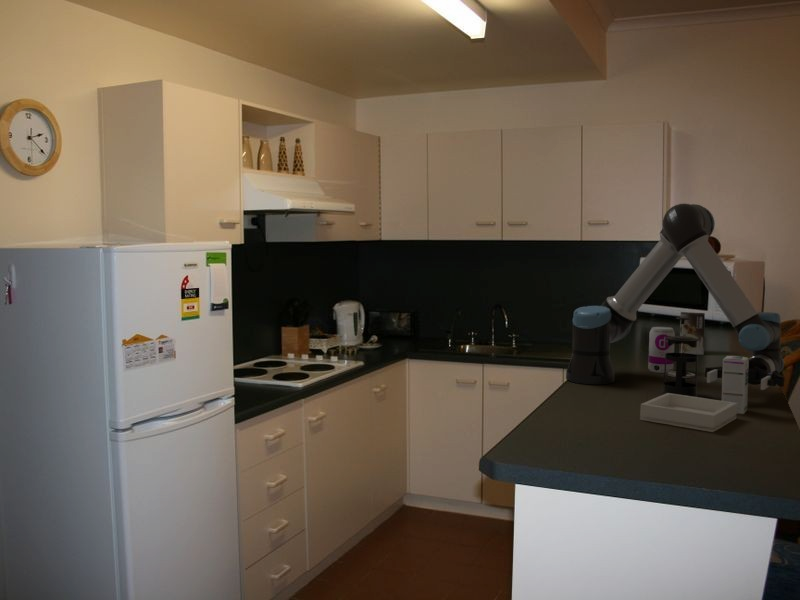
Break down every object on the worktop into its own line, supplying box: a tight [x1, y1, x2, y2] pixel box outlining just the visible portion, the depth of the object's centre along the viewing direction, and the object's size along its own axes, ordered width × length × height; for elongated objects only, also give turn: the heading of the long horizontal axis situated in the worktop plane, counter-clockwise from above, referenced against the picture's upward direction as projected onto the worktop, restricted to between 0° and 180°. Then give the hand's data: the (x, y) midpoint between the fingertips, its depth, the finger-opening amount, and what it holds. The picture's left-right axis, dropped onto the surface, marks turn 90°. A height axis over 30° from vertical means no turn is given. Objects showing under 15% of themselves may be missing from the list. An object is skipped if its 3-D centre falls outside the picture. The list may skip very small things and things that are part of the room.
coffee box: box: [678, 311, 706, 356], centre depth 297 cm, size 9×6×16 cm
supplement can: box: [647, 326, 676, 374], centre depth 258 cm, size 8×8×15 cm
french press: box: [662, 316, 699, 397], centre depth 219 cm, size 12×9×23 cm
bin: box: [639, 393, 737, 433], centre depth 192 cm, size 18×18×4 cm
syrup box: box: [721, 355, 750, 415], centre depth 200 cm, size 6×6×14 cm
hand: (734, 381), depth 199 cm, fingers open, 13 cm apart
